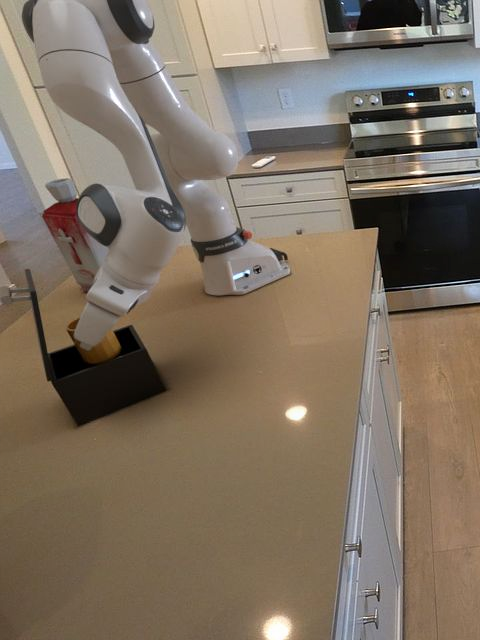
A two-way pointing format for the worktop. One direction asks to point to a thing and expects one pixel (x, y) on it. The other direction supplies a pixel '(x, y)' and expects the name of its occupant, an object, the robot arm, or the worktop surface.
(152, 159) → the robot arm
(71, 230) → the bottle
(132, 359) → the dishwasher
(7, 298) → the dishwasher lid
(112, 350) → the golden yellow cup
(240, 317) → the worktop surface
